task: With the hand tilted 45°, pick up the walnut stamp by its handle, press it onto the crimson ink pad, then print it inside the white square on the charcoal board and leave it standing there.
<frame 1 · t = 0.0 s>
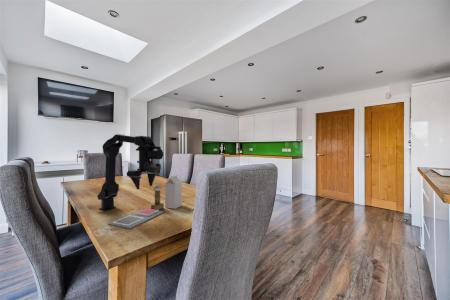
hand: (144, 187, 102), 15 cm above the table, tool pointing down, fingers open, 9 cm apart
milk carton: (173, 207, 116), on the table
walnut stamp: (157, 208, 111), on the table
stamping board: (138, 218, 96), on the table
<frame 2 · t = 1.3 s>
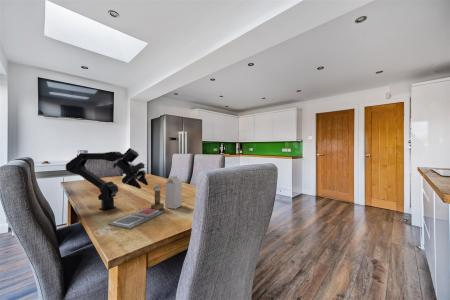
hand: (144, 186, 111), 13 cm above the table, tool tilted 45°, fingers open, 9 cm apart
nothing on the table moved.
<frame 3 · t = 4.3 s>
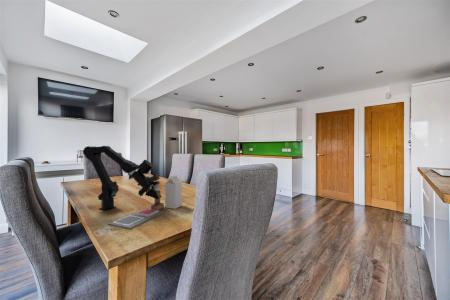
hand: (159, 197, 111), 7 cm above the table, tool tilted 45°, fingers closed on walnut stamp, 3 cm apart
walnut stamp: (157, 208, 111), on the table, touching gripper
everything else where it was.
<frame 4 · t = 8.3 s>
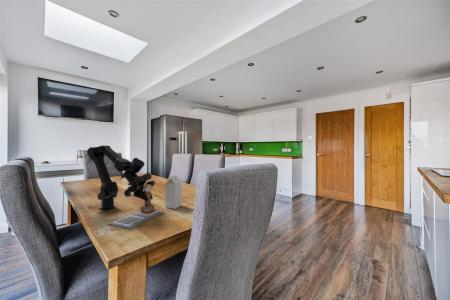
hand: (150, 199, 101), 8 cm above the table, tool tilted 45°, fingers closed on walnut stamp, 3 cm apart
walnut stamp: (147, 211, 102), point 2 cm above the table, touching gripper, stamping board
everything else where it was.
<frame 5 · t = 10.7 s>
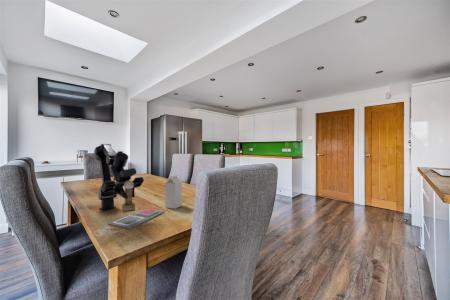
hand: (130, 197, 91), 12 cm above the table, tool tilted 45°, fingers closed on walnut stamp, 3 cm apart
walnut stamp: (128, 210, 92), point 5 cm above the table, touching gripper
everything else where it was.
when the fingers open (7 cm above the table, at t = 12.4 s): walnut stamp stays where it is, resting on stamping board.
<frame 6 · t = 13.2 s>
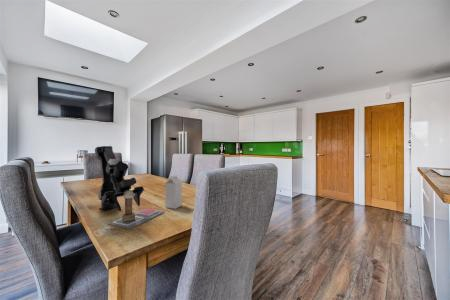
hand: (130, 208, 91), 7 cm above the table, tool tilted 45°, fingers open, 9 cm apart
walnut stamp: (128, 220, 92), point 1 cm above the table, touching stamping board
everything else where it was.
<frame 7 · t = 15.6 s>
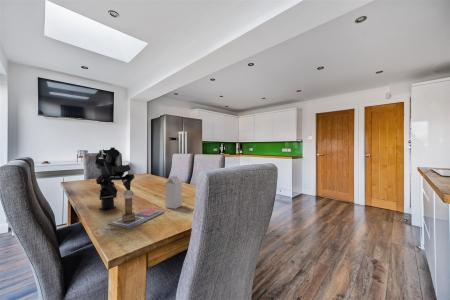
hand: (122, 192, 98), 13 cm above the table, tool tilted 40°, fingers open, 9 cm apart
nothing on the table moved.
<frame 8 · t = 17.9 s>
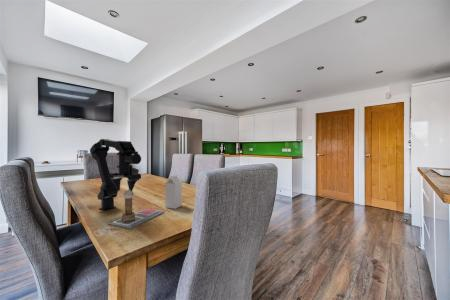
hand: (124, 191, 104), 12 cm above the table, tool pointing down, fingers open, 9 cm apart
nothing on the table moved.
at the end: walnut stamp 0.3 cm from the target spot on the stamping board, point 0.6 cm above the stamping board's base; walnut stamp tilted 0°; the gripper is holding nothing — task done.
